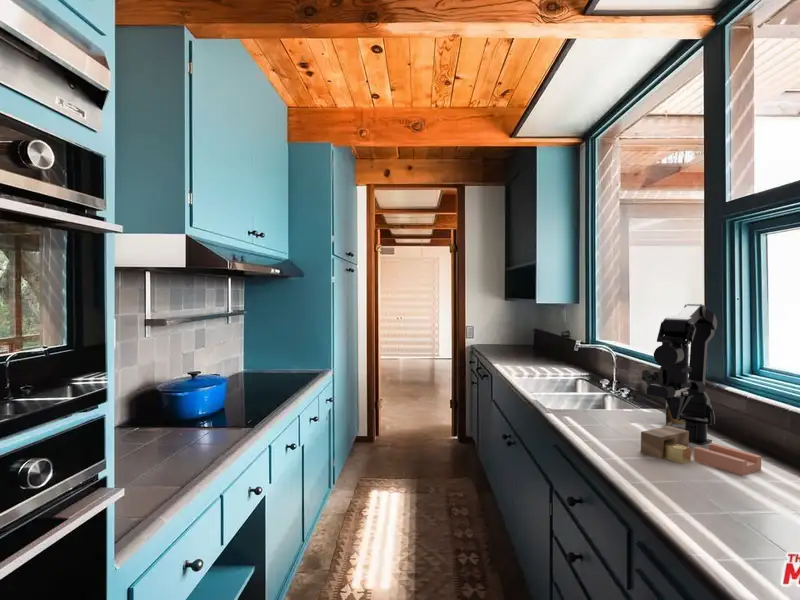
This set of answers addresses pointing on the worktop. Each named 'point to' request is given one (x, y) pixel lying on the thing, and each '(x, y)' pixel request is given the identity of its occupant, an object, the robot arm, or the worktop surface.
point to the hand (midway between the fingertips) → (675, 419)
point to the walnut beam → (662, 439)
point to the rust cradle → (728, 459)
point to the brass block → (676, 452)
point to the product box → (673, 420)
